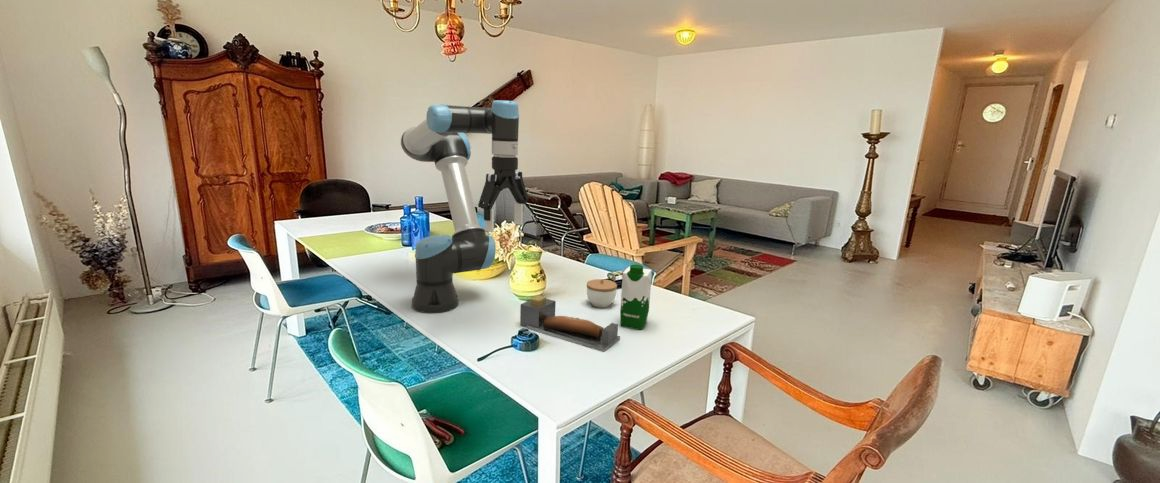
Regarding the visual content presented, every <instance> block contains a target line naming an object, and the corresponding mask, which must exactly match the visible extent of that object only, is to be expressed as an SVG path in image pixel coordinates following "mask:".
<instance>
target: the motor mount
mask: <svg viewBox="0 0 1160 483" xmlns="http://www.w3.org/2000/svg"><path fill="white" fill-rule="evenodd" d="M556 302H557V301H556V300H554V299H549V298H547V296H544V295H543V296H542V295H540V294H538V295H535V296H534V297H532V298H530V299H529V300H527V301H525V302H523V303H520V310H519V312H520V315H519V318H520V323H519V326H520V327H524V328H526V329H527V328H528V329H527V330H530V331H531V330H532V331H535V332H537V333H541V334H545V335H547V336H551V337H553V338H557V339H561V340H564V341H567V342H570V343H574V344H577V345H580V346H583V347H587V348H591V349H593V350H596V351H600V352H607V351H608V349H610V348H611V347H612V346H614V345H615V344H616V343H617V342H619V341H620V340H621V336H620V335H618V334H619V331H618V330H619V324H617V323H614V322H611V323H610V324H608V325H607V326H606V327H603V328H604V329H603V330H602V338H601V339H600V338H599V337H595V336H590V335H585V334H580V333H575V332H570V331H565V330H558V329H549V328H543V324H544V321H545V319H546V318H547V317H552V316H556Z"/></svg>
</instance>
